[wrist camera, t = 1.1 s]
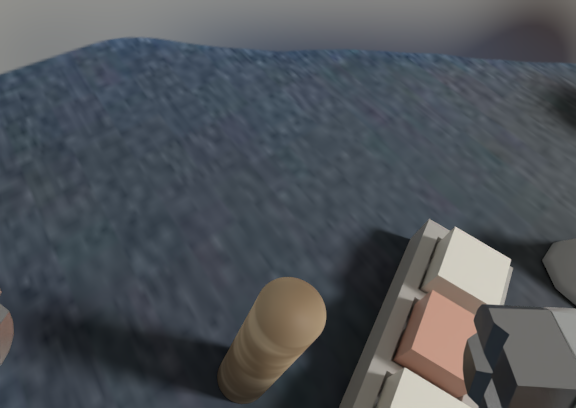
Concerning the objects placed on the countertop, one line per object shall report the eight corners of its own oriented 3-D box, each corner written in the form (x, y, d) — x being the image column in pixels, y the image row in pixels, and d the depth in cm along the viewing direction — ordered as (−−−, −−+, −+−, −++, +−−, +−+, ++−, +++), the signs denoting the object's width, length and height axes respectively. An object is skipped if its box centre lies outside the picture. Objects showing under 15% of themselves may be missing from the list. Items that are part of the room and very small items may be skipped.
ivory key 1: (419, 289, 40) (437, 274, 37) (437, 243, 43) (455, 226, 40) (476, 323, 39) (498, 310, 37) (490, 274, 42) (511, 259, 40)
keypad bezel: (314, 464, 34) (332, 457, 31) (410, 239, 46) (429, 219, 43) (419, 530, 34) (447, 529, 31) (488, 285, 46) (513, 267, 43)
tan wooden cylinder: (207, 385, 35) (242, 321, 24) (234, 341, 37) (277, 264, 26) (252, 414, 35) (307, 361, 24) (276, 368, 37) (337, 300, 26)
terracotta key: (393, 360, 36) (411, 348, 34) (414, 304, 39) (432, 289, 37) (455, 398, 36) (478, 389, 33) (472, 338, 39) (494, 326, 36)
